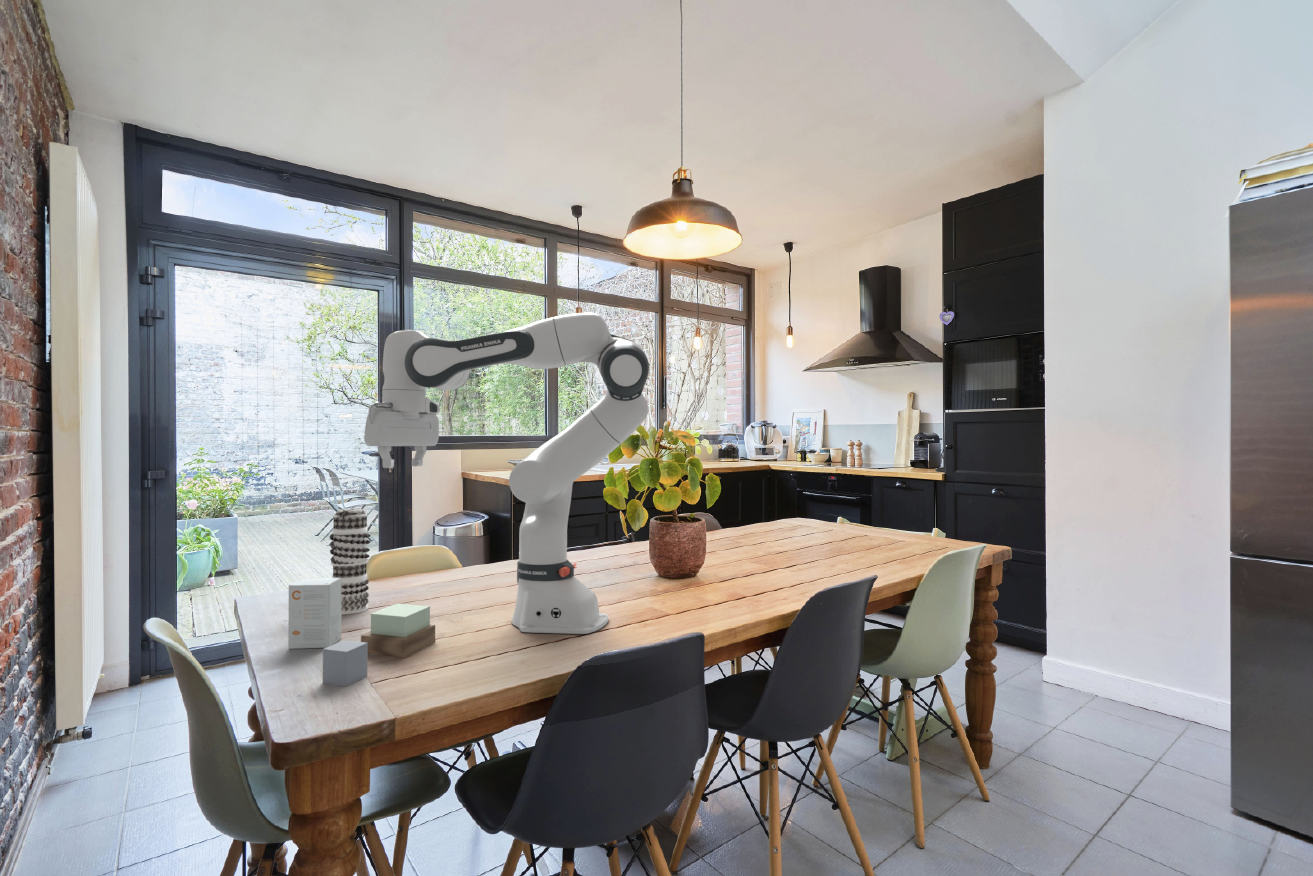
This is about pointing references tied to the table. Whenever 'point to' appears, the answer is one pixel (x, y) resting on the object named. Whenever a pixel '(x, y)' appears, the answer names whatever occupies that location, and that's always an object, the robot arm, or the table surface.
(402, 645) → the tower base
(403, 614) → the tower top
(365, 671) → the block
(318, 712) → the table surface
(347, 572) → the decorative candle
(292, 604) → the small box
